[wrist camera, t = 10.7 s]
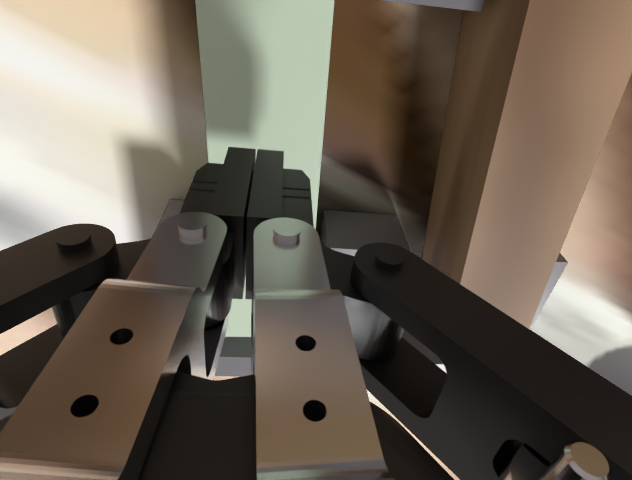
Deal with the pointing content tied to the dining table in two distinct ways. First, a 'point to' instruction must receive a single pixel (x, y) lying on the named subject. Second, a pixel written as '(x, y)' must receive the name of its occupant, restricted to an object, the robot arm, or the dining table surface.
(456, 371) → the robot arm
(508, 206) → the walnut slat
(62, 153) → the dining table surface
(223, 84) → the sage slat
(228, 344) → the frame
